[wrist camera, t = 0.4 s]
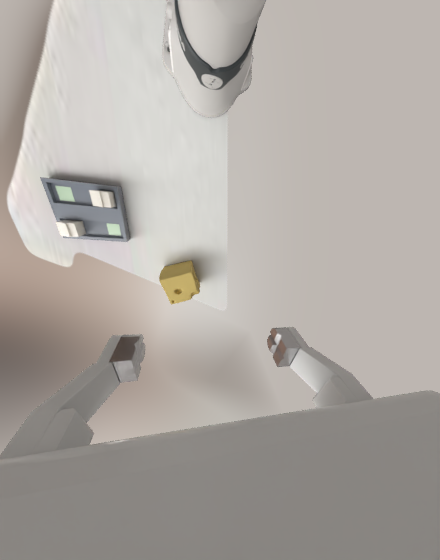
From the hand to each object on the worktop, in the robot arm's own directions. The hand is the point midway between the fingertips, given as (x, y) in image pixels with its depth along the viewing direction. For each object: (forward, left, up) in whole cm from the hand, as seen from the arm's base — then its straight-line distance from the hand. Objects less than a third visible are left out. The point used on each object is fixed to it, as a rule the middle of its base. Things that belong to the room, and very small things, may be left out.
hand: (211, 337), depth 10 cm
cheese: (+20, -4, -45) cm, 49 cm away
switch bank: (+1, -28, -45) cm, 53 cm away
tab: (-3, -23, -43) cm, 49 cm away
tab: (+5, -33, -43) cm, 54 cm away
